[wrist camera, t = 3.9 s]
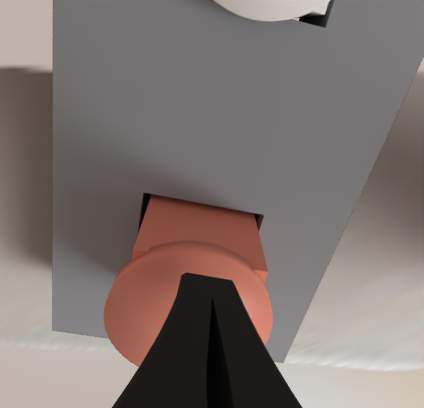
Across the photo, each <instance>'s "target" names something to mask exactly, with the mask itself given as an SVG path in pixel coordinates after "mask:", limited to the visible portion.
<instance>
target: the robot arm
mask: <svg viewBox="0 0 424 408" xmlns="http://www.w3.org/2000/svg"><path fill="white" fill-rule="evenodd" d="M112 408H302V406H301V405H300V403H299V402H298V400H297V399H296V397H295V396H294V394H293V393H292V391H291V389H290V388H289V386H288V384H287V383H286V381H285V380H284V378H283V376H282V375H281V373H280V372H279V370H278V368H277V367H276V365H275V363H274V361H273V359H272V358H271V356H270V354H269V352H268V350H267V349H266V347H265V345H264V343H263V341H262V339H261V338H260V336H259V334H258V332H257V330H256V328H255V326H254V324H253V322H252V320H251V318H250V316H249V314H248V312H247V310H246V308H245V306H244V304H243V301H242V299H241V297H240V295H239V293H238V290H237V288H236V286H235V284H234V282H233V281H232V280H228V279H222V278H217V277H211V276H205V275H199V274H193V273H188V272H186V273H184V274H182V275H181V279H180V283H179V287H178V291H177V295H176V298H175V301H174V303H173V305H172V308H171V310H170V312H169V314H168V316H167V318H166V320H165V322H164V324H163V326H162V328H161V330H160V332H159V334H158V336H157V338H156V340H155V341H154V343H153V345H152V346H151V348H150V350H149V351H148V353H147V355H146V357H145V358H144V360H143V362H142V363H141V365H140V367H139V368H138V370H137V371H136V373H135V374H134V376H133V377H132V379H131V381H130V382H129V384H128V385H127V387H126V388H125V390H124V391H123V392H122V394H121V395H120V397H119V398H118V400H117V401H116V403H115V404H114V405H113V407H112Z"/></svg>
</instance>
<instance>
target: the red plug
mask: <svg viewBox="0 0 424 408" xmlns="http://www.w3.org/2000/svg"><path fill="white" fill-rule="evenodd" d="M186 272H188V273H193V274H199V275H205V276H211V277H217V278H222V279H228V280H232V281H233V282H234V284H235V286H236V288H237V290H238V293H239V295H240V297H241V299H242V301H243V304H244V306H245V308H246V310H247V312H248V314H249V316H250V318H251V320H252V322H253V324H254V326H255V328H256V330H257V332H258V334H259V336H260V338H261V339H262V341H263V343H264V345H265V344H266V343H267V341H268V339H269V337H270V334H271V330H272V325H273V312H272V307H271V303H270V298H269V294H268V290H267V286H266V284H265V280H266V277H267V274H268V269H267V265H266V261H265V257H264V252H263V248H262V244H261V240H260V236H259V232H258V228H257V224H256V220H255V216H254V213H251V212H246V211H240V210H235V209H230V208H224V207H219V206H214V205H208V204H203V203H198V202H192V201H187V200H181V199H176V198H171V197H165V196H160V195H155V194H152V195H151V198H150V201H149V204H148V207H147V210H146V213H145V216H144V219H143V222H142V225H141V228H140V230H139V233H138V236H137V239H136V242H135V245H134V248H133V254H132V258H131V259H130V260H129V261H128V262H127V263H126V264H125V265H124V266H123V267H122V268H121V270H120V271H119V272H118V274H117V276H116V277H115V279H114V282H113V284H112V287H111V289H110V292H109V295H108V297H107V300H106V303H105V307H104V325H105V329H106V332H107V335H108V337H109V339H110V341H111V342H112V344H113V345H114V347H115V348H116V349H117V350H118V351H119V352H120V353H121V354H122V355H123V356H124V357H125V358H126V359H128V360H129V361H130V362H132V363H133V364H135V365H136V366H138V367H140V365H141V363H142V362H143V360H144V358H145V357H146V355H147V353H148V351H149V350H150V348H151V346H152V345H153V343H154V341H155V340H156V338H157V336H158V334H159V332H160V330H161V328H162V326H163V324H164V322H165V320H166V318H167V316H168V314H169V312H170V310H171V308H172V305H173V303H174V301H175V298H176V295H177V291H178V287H179V283H180V279H181V275H182V274H184V273H186Z"/></svg>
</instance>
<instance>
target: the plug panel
mask: <svg viewBox="0 0 424 408" xmlns="http://www.w3.org/2000/svg"><path fill="white" fill-rule="evenodd" d="M423 57H424V0H330V1H329V3H328V6H327V9H326V13H325V15H317V16H308V17H300V19H299V21H296V20H292V19H289V20H282V21H273V22H267V21H255V20H249V19H246V18H243V17H240V16H237V15H235V14H233V13H231V12H229V11H227V10H225V9H224V8H222V7H221V6H220V5H218V4H217V3H216V2H214V1H213V0H53V197H52V331H59V332H66V333H73V334H80V335H87V336H94V337H101V338H108V339H109V337H108V335H107V332H106V329H105V325H104V307H105V303H106V300H107V297H108V295H109V292H110V289H111V287H112V284H113V282H114V279H115V277H116V276H117V274H118V272H119V271H120V270H121V268H122V267H123V266H124V265H125V264H126V263H127V262H128V261H129V260H130V259H131V258H132V254H133V248H134V245H135V242H136V239H137V236H138V233H139V230H140V228H141V225H142V222H143V219H144V216H145V213H146V210H147V207H148V204H149V201H150V198H151V194H155V195H160V196H165V197H171V198H176V199H181V200H187V201H192V202H198V203H203V204H208V205H214V206H219V207H224V208H230V209H235V210H240V211H246V212H251V213H254V216H255V220H256V224H257V228H258V232H259V236H260V240H261V244H262V248H263V252H264V257H265V261H266V265H267V269H268V274H267V277H266V280H265V284H266V286H267V290H268V294H269V298H270V303H271V307H272V312H273V325H272V330H271V334H270V337H269V339H268V341H267V343H266V344H265V347H266V349H267V350H268V352H269V354H270V356H271V358H272V359H273V361H274V362H279V363H283V362H284V360H285V358H286V356H287V353H288V351H289V349H290V347H291V345H292V343H293V340H294V338H295V336H296V334H297V332H298V329H299V327H300V325H301V323H302V321H303V319H304V316H305V314H306V312H307V310H308V308H309V305H310V303H311V301H312V299H313V297H314V295H315V292H316V290H317V288H318V286H319V284H320V281H321V279H322V277H323V275H324V273H325V271H326V268H327V266H328V264H329V262H330V260H331V258H332V255H333V253H334V251H335V249H336V247H337V244H338V242H339V240H340V238H341V236H342V234H343V231H344V229H345V227H346V225H347V223H348V220H349V218H350V216H351V214H352V212H353V210H354V207H355V205H356V203H357V201H358V199H359V196H360V194H361V192H362V190H363V188H364V186H365V183H366V181H367V179H368V177H369V175H370V172H371V170H372V168H373V166H374V164H375V162H376V159H377V157H378V155H379V153H380V151H381V148H382V146H383V144H384V142H385V140H386V138H387V135H388V133H389V131H390V129H391V127H392V124H393V122H394V120H395V118H396V116H397V114H398V111H399V109H400V107H401V105H402V103H403V101H404V98H405V96H406V94H407V92H408V90H409V87H410V85H411V83H412V81H413V79H414V77H415V74H416V72H417V70H418V68H419V65H420V63H421V61H422V59H423Z"/></svg>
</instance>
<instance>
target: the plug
mask: <svg viewBox="0 0 424 408" xmlns="http://www.w3.org/2000/svg"><path fill="white" fill-rule="evenodd" d="M213 1H214V2H216V3H217V4H218V5H220V6H221V7H222V8H224V9H225V10H227V11H229V12H231V13H233V14H235V15H237V16H240V17H243V18H246V19H249V20H255V21H267V22H273V21H282V20H289V19H293V18H300V17H308V16H317V15H325V13H326V9H327V6H328V3H329V1H330V0H213Z"/></svg>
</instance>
